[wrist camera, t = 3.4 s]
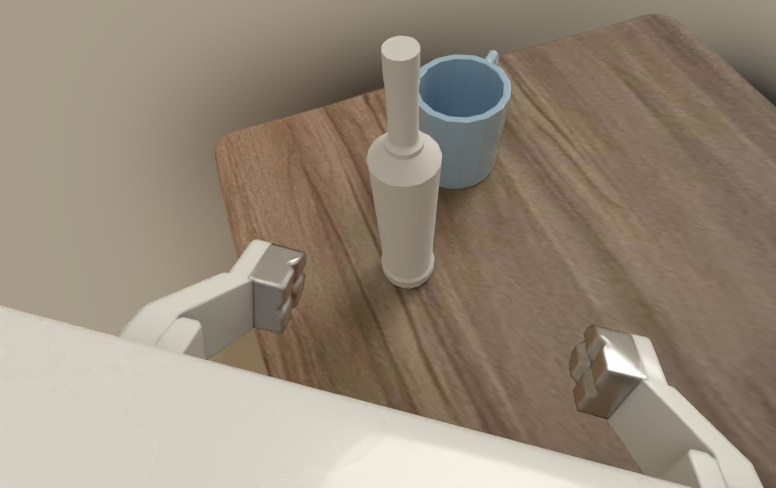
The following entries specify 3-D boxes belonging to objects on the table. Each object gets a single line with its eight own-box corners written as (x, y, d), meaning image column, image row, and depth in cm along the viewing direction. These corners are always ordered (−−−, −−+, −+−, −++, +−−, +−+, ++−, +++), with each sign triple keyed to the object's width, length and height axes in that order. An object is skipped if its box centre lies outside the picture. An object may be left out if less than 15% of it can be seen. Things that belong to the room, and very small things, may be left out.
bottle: (374, 256, 46) (336, 35, 25) (419, 237, 47) (423, 7, 25) (395, 299, 44) (374, 95, 22) (443, 278, 44) (468, 61, 23)
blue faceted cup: (472, 201, 49) (484, 135, 40) (397, 169, 52) (393, 101, 43) (521, 122, 54) (541, 49, 46) (450, 97, 57) (456, 23, 48)
